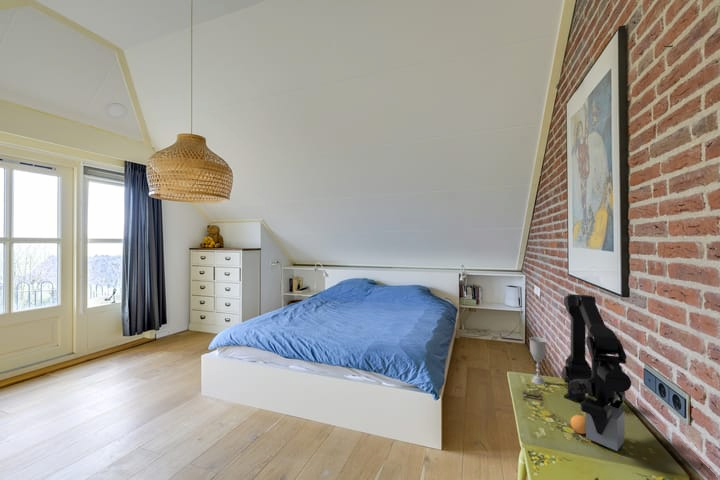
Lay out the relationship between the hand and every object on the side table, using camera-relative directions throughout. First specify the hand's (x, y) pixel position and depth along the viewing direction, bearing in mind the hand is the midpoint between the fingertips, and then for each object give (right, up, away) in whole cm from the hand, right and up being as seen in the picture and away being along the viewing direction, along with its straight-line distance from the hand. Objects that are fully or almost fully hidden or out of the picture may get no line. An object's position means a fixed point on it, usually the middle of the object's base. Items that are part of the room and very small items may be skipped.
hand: (604, 428), depth 92 cm
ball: (-4, -1, +5) cm, 6 cm away
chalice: (+3, -4, +39) cm, 40 cm away
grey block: (0, -3, 0) cm, 3 cm away
